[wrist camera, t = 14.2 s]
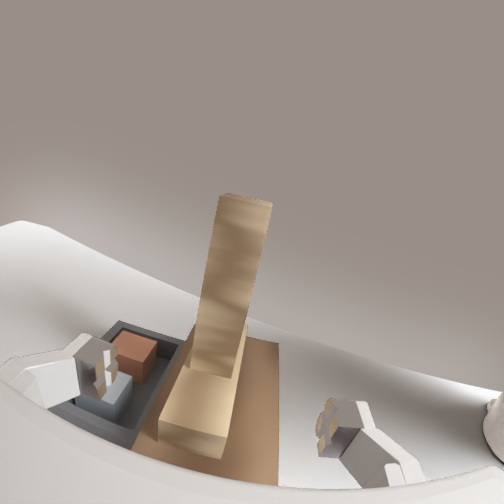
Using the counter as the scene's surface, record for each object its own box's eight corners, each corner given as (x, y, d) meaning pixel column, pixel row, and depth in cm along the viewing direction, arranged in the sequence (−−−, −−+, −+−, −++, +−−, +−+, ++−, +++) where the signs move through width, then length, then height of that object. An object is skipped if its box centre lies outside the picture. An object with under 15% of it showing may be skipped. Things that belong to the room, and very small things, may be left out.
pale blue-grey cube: (93, 361, 22) (96, 384, 23) (72, 386, 19) (77, 409, 19) (132, 376, 22) (132, 398, 23) (113, 404, 19) (116, 426, 19)
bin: (186, 366, 32) (190, 342, 31) (142, 466, 17) (141, 444, 16) (118, 344, 32) (119, 320, 31) (52, 424, 17) (43, 398, 16)
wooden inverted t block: (242, 346, 28) (278, 199, 24) (220, 459, 15) (284, 225, 11) (203, 336, 28) (231, 188, 25) (157, 442, 15) (181, 202, 11)
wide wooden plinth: (264, 384, 32) (278, 343, 30) (254, 523, 14) (277, 493, 13) (188, 366, 32) (194, 323, 30) (133, 494, 14) (126, 457, 13)
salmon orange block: (123, 330, 29) (123, 352, 29) (106, 349, 25) (107, 371, 25) (157, 341, 28) (155, 363, 29) (143, 362, 25) (142, 385, 25)
